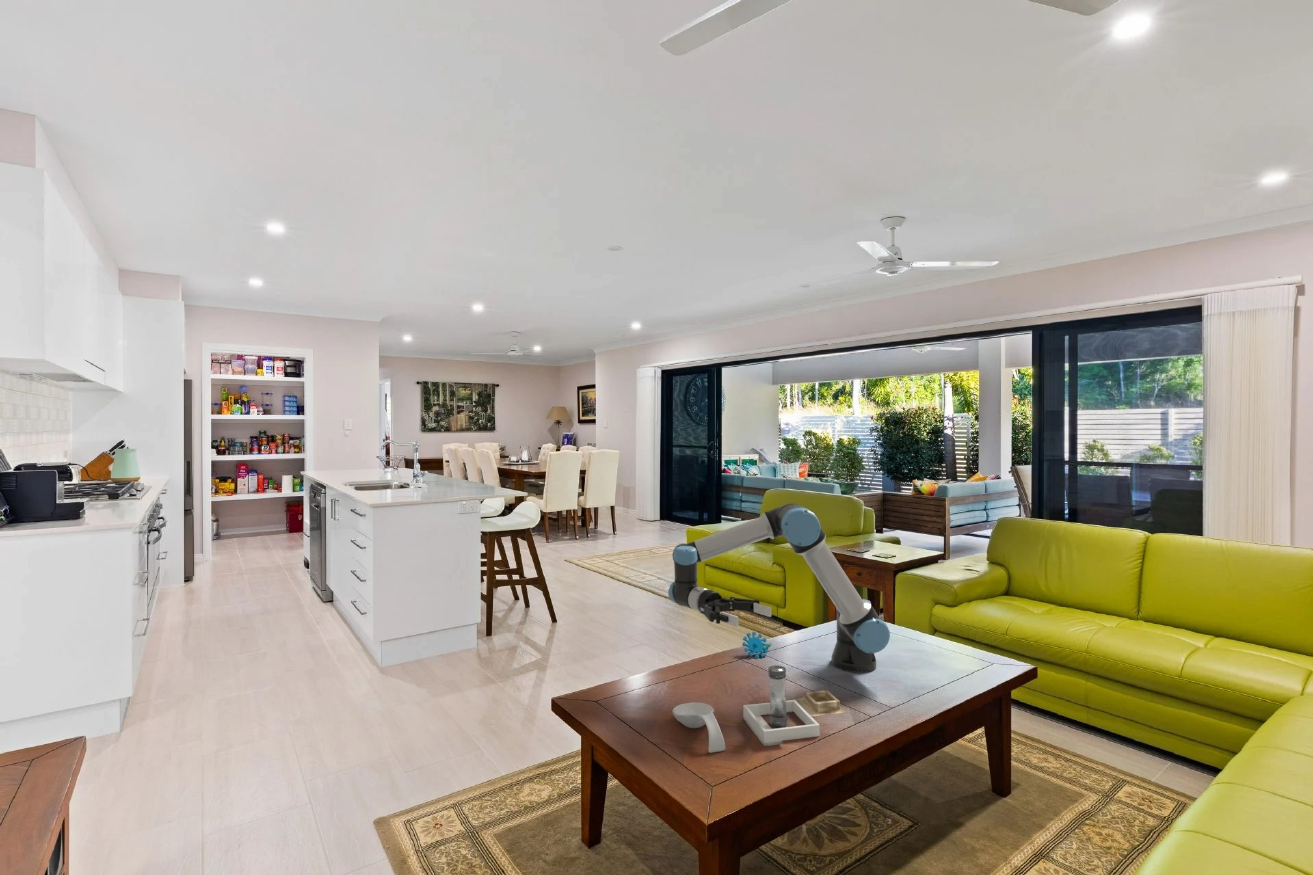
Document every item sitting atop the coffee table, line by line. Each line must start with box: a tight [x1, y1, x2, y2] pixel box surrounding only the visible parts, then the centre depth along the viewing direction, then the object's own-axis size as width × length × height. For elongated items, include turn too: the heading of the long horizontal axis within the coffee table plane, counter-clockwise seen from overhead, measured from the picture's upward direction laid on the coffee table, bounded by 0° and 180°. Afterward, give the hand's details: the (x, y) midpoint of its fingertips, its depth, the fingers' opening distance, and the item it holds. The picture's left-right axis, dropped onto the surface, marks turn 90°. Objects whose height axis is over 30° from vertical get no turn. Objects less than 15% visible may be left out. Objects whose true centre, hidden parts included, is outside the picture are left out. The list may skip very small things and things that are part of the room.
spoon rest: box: [672, 702, 726, 754], centre depth 179 cm, size 24×12×7 cm, turn 19°
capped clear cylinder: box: [767, 664, 788, 729], centre depth 181 cm, size 5×5×16 cm
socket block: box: [794, 689, 850, 717], centre depth 193 cm, size 12×12×4 cm
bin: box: [742, 699, 821, 747], centre depth 180 cm, size 16×16×4 cm
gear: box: [741, 631, 772, 659], centre depth 238 cm, size 11×6×10 cm
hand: (754, 616), depth 187 cm, fingers open, 13 cm apart
